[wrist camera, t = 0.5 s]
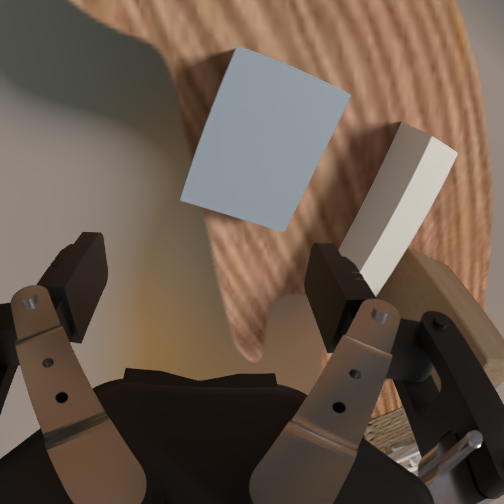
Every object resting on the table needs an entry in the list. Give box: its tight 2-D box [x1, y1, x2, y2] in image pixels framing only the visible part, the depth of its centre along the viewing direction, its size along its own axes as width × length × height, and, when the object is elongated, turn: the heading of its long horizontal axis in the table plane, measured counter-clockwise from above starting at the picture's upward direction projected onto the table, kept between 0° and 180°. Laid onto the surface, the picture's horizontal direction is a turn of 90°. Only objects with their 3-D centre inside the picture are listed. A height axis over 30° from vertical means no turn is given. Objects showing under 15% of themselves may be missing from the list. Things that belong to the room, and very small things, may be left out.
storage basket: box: [364, 407, 422, 472], centre depth 67 cm, size 24×16×15 cm
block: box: [180, 46, 351, 232], centre depth 27 cm, size 14×10×6 cm
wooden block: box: [376, 249, 504, 392], centre depth 34 cm, size 10×10×20 cm
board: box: [338, 122, 458, 297], centre depth 33 cm, size 24×4×6 cm, turn 161°
